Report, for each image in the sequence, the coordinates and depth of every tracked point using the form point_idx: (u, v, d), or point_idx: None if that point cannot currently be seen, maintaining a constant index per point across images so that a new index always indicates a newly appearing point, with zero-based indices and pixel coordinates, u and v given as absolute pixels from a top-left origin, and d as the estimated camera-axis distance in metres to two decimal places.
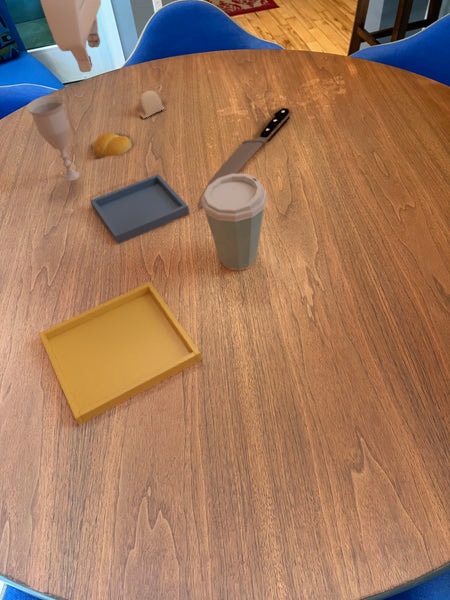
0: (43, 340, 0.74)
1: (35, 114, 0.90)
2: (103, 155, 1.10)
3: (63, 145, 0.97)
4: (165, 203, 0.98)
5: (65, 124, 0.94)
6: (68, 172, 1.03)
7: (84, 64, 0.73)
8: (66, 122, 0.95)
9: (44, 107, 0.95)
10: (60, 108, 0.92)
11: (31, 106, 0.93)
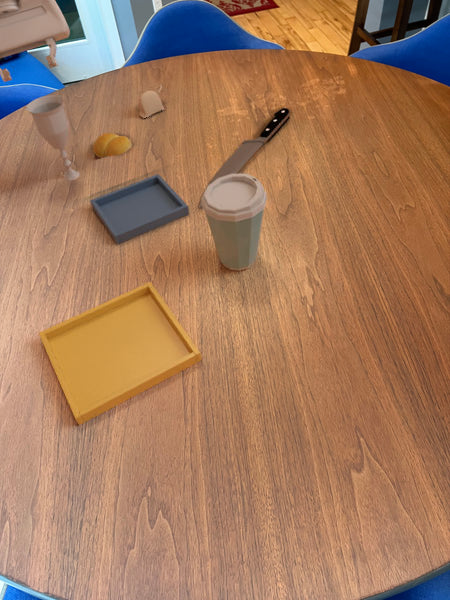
0: (43, 340, 0.74)
1: (35, 114, 0.90)
2: (103, 155, 1.10)
3: (63, 145, 0.97)
4: (165, 203, 0.98)
5: (65, 124, 0.94)
6: (68, 172, 1.03)
7: (55, 59, 0.95)
8: (66, 122, 0.95)
9: (44, 107, 0.95)
10: (60, 108, 0.92)
11: (31, 106, 0.93)
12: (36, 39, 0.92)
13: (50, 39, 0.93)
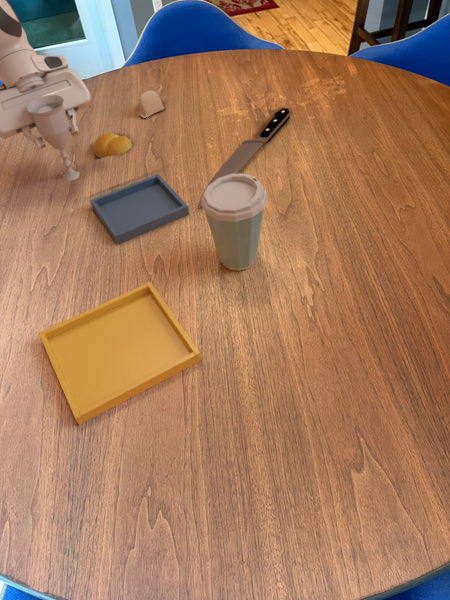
0: (43, 340, 0.74)
1: (35, 114, 0.90)
2: (103, 155, 1.10)
3: (63, 145, 0.97)
4: (165, 203, 0.98)
5: (65, 124, 0.95)
6: (68, 172, 1.03)
7: None
8: (66, 122, 0.95)
9: None
10: (60, 108, 0.92)
11: (31, 106, 0.93)
12: (64, 109, 0.96)
13: (71, 110, 0.98)
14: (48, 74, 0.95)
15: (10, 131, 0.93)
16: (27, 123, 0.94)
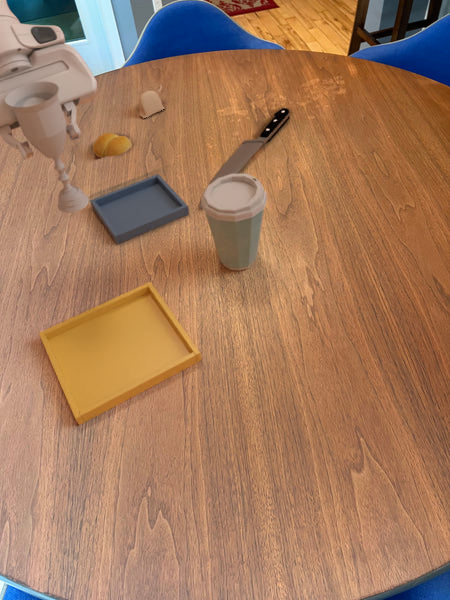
0: (43, 340, 0.74)
1: (17, 109, 0.62)
2: (103, 155, 1.10)
3: (58, 153, 0.69)
4: (165, 203, 0.98)
5: (60, 124, 0.66)
6: (66, 190, 0.75)
7: None
8: (62, 120, 0.66)
9: None
10: (54, 100, 0.64)
11: (11, 98, 0.65)
12: None
13: (70, 104, 0.69)
14: (36, 52, 0.66)
15: None
16: (6, 122, 0.66)
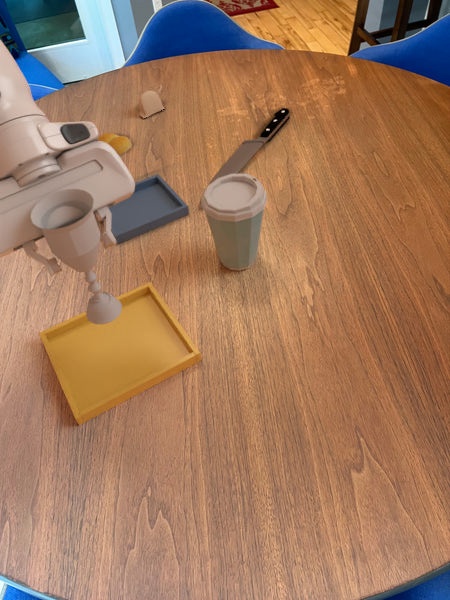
0: (43, 340, 0.74)
1: (45, 230, 0.52)
2: None
3: (90, 267, 0.59)
4: (165, 203, 0.98)
5: (94, 238, 0.56)
6: (96, 300, 0.65)
7: None
8: (97, 234, 0.56)
9: None
10: (88, 216, 0.54)
11: (37, 211, 0.55)
12: (92, 209, 0.58)
13: (104, 209, 0.59)
14: (67, 154, 0.56)
15: (3, 253, 0.55)
16: (31, 237, 0.56)
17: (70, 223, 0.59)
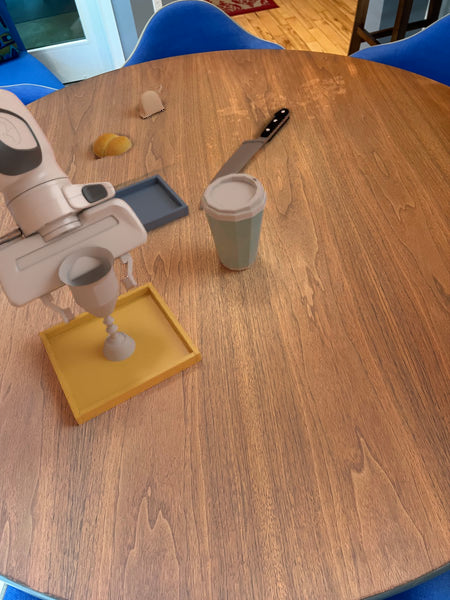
0: (43, 340, 0.74)
1: (72, 286, 0.59)
2: (103, 155, 1.10)
3: (109, 314, 0.66)
4: (165, 203, 0.98)
5: (114, 290, 0.63)
6: (113, 339, 0.72)
7: None
8: (116, 286, 0.63)
9: None
10: (109, 273, 0.61)
11: (64, 267, 0.62)
12: None
13: (126, 255, 0.66)
14: (87, 211, 0.63)
15: (30, 302, 0.61)
16: (55, 287, 0.62)
17: (91, 274, 0.66)
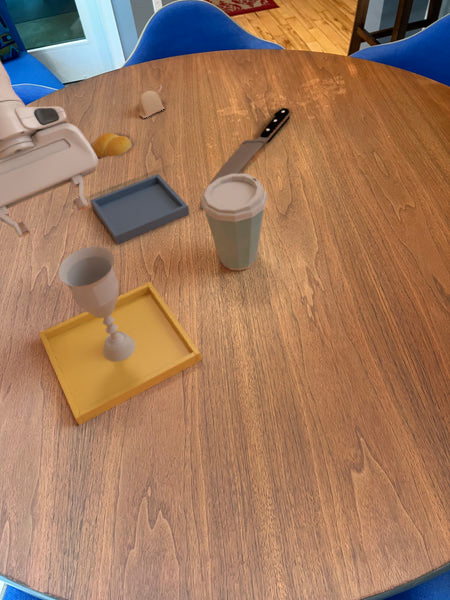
0: (43, 340, 0.74)
1: (72, 286, 0.59)
2: (103, 155, 1.10)
3: (109, 314, 0.66)
4: (165, 203, 0.98)
5: (114, 290, 0.63)
6: (113, 339, 0.72)
7: None
8: (116, 286, 0.63)
9: (82, 263, 0.64)
10: (109, 273, 0.60)
11: (64, 267, 0.62)
12: (61, 179, 0.70)
13: (78, 177, 0.72)
14: (39, 133, 0.68)
15: None
16: (10, 201, 0.68)
17: (91, 274, 0.66)
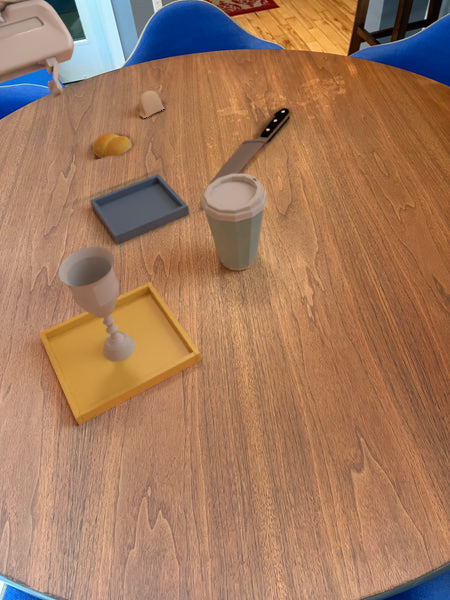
0: (43, 340, 0.74)
1: (72, 286, 0.59)
2: (103, 155, 1.10)
3: (109, 314, 0.66)
4: (165, 203, 0.98)
5: (114, 290, 0.63)
6: (113, 339, 0.72)
7: None
8: (116, 286, 0.63)
9: (82, 263, 0.64)
10: (109, 273, 0.60)
11: (64, 267, 0.62)
12: (34, 59, 0.66)
13: (52, 59, 0.68)
14: (9, 6, 0.64)
15: None
16: None
17: (91, 274, 0.66)
